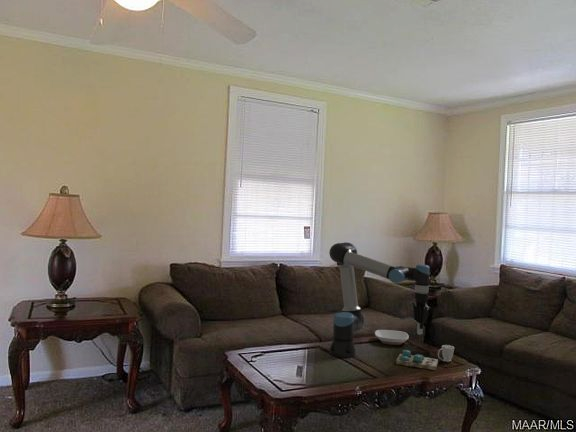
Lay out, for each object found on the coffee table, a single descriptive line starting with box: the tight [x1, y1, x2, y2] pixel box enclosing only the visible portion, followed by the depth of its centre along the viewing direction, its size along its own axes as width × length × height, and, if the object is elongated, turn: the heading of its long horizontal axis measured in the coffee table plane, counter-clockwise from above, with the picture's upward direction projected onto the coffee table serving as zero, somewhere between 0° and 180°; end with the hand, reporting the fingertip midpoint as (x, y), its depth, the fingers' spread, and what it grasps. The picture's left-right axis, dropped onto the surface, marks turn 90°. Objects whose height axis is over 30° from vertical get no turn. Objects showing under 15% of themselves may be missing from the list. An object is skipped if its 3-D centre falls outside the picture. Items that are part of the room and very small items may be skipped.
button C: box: [413, 354, 423, 363], centre depth 260 cm, size 4×4×3 cm
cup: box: [437, 344, 455, 363], centre depth 270 cm, size 7×10×8 cm
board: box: [395, 353, 439, 371], centre depth 263 cm, size 21×14×2 cm, turn 67°
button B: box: [401, 349, 411, 357], centre depth 269 cm, size 4×4×3 cm
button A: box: [400, 356, 409, 362], centre depth 262 cm, size 4×4×3 cm
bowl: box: [374, 329, 410, 346], centre depth 305 cm, size 22×22×5 cm
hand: (419, 334), depth 266 cm, fingers closed
